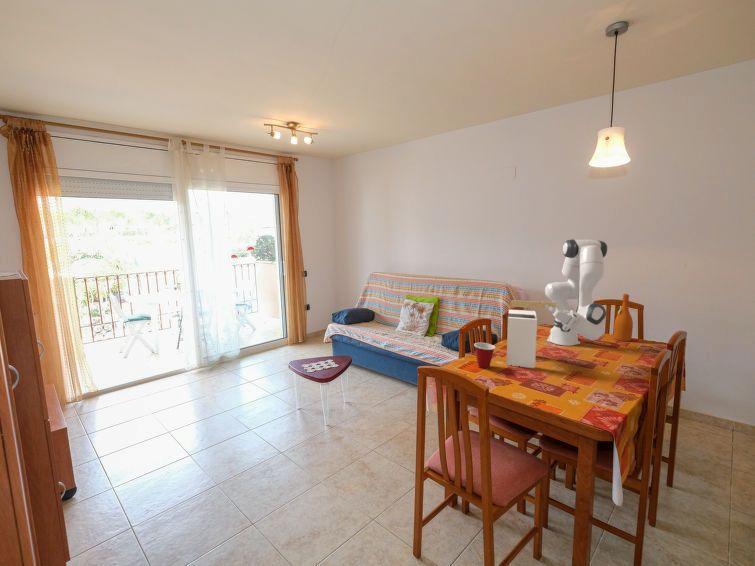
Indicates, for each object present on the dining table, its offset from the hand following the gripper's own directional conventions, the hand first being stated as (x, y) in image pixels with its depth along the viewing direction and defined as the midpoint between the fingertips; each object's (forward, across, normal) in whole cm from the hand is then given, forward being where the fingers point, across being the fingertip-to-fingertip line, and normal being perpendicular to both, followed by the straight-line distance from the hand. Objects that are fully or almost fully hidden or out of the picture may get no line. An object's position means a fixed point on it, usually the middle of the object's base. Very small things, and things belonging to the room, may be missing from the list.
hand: (545, 304), depth 186 cm
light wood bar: (+4, 0, +4) cm, 6 cm away
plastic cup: (+8, +12, +43) cm, 46 cm away
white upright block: (-7, -5, +34) cm, 35 cm away
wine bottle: (-61, -64, +3) cm, 89 cm away
